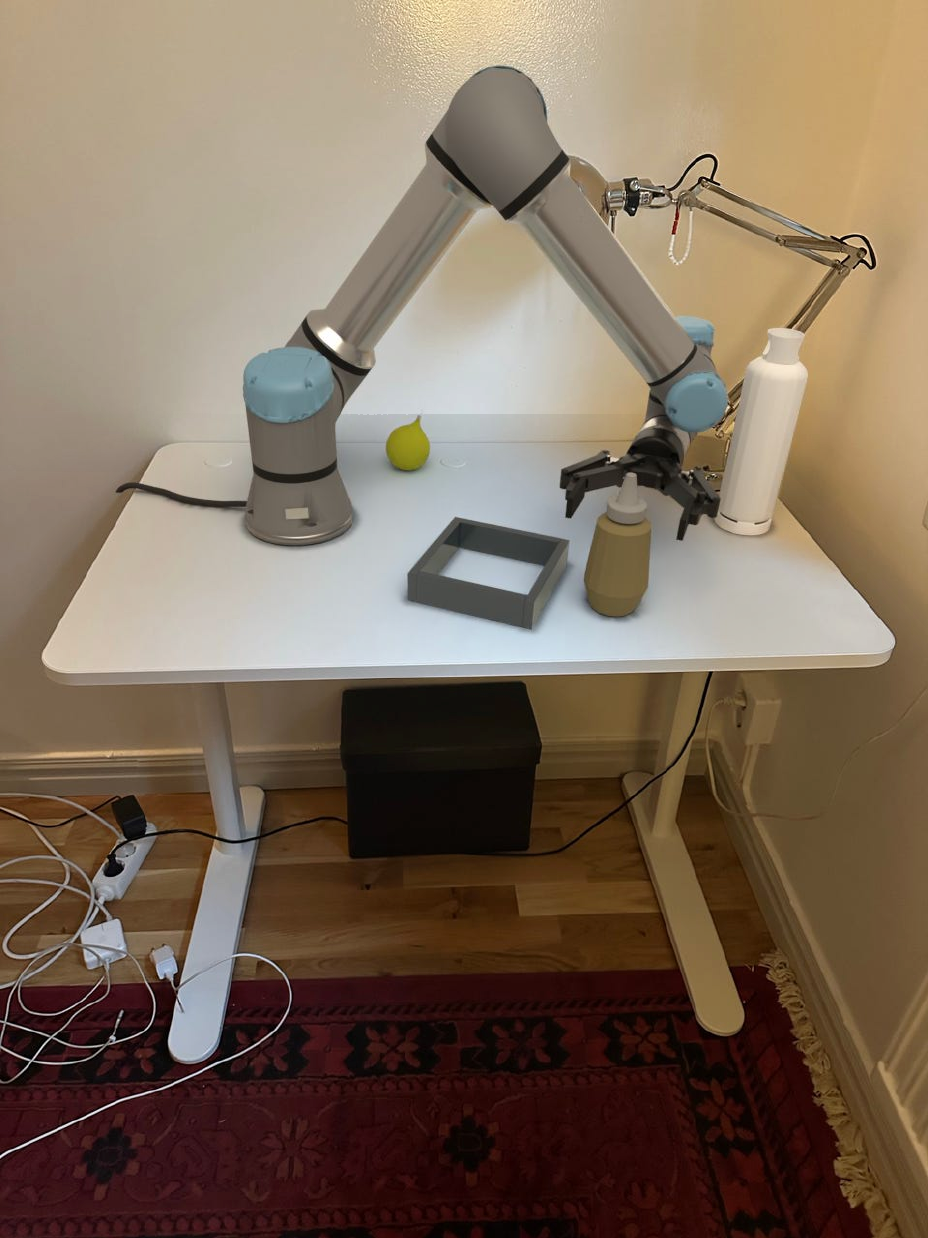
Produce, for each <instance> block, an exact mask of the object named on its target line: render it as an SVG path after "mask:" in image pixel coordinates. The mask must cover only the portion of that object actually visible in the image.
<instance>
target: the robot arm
mask: <svg viewBox="0 0 928 1238" xmlns="http://www.w3.org/2000/svg"><path fill="white" fill-rule="evenodd" d="M545 101H546V100H545V98H544V95H543V94H542V92H541V90H540V88H539V87H538V85H536V84H535V82H534V81H533V79H532V77H530V76H528V75H526V74H525V72H523V71H522V70H520V69H518V68H516V67H513V66H509V65H502V64H498V65H491V66H487V67H485V68H482V69H480V70H478V71H477V72H475V73H474V74H472V76H470V77H469V79H467V80H466V81H464V83H463V84H462V85H461V86H460V87H459V88H458V89H457V91H456V92H455V94H454V95H453V97H452V98H451V101H450V103H449V106H448V109H447V110H446V112H445V113H444V114H443V116H442V117H441V119H440V120H439V122H438V123H437V124H436V126H435V128H434V129H433V131H432V132H431V134H430V135H429V137H428V138H427V140H426V141H425V143H424V152H425V165H424V166H423V168H422V169H421V170H420V172H419V173H418V174H417V176H416V177H415V179H414V180H413V182H412V183H411V184H410V186H409V188H408V189H407V190H406V192H405V193H404V194H403V196H402V198H401V199H400V201H399V202H398V203H397V205H396V206H395V207H394V208H393V211H392V212H391V213H390V215H389V216H388V217H387V219H386V220H385V222H384V224H383V225H382V226H381V228H380V229H379V230H378V232H377V233H376V235H375V236H374V238H373V239H372V240H371V242H370V243H369V245H368V246H367V248H366V249H365V251H364V252H363V253H362V255H361V256H360V258H359V259H358V260H357V262H356V263H355V265H354V266H353V268H352V269H351V271H350V272H349V273H348V275H346V276H347V277H346V278H345V279H344V281H342V283H341V285H340V286H339V288H338V289H337V291H336V292H335V293H334V295H333V297H332V298H331V299H330V301H329V302H328V304H327V305H326V306H325V308H320V309H312V310H309V312H308V313H307V315H306V316H305V317H304V319H303V320H302V321H301V323H300V324H299V326H298V327H297V328H296V330H295V332H294V333H293V334H292V336H291V337H290V339H289V340H288V341H287V342H286V343H285V345H284V346H283V347H277V348H272V349H269V350H268V352H261V353H258V354H257V355H255V356H254V357H252V358H250V360H249V361H248V362H247V364H246V365H245V368H244V370H243V377H242V378H243V379H242V380H243V381H242V383H243V384H242V398H243V401H244V406H245V414H246V422H247V429H248V439H249V446H250V447H249V448H250V456H251V463H252V472H253V473H252V479H251V482H250V488H249V492H248V494H247V500H214V499H205V498H197V497H190V496H187V495H182V494H179V493H177V492H173V491H171V490H170V489H169V490H168V489H166V488H162V487H157V486H152V485H148V484H146V483H145V484H144V483H140V482H135V481H133V482H131V481H130V482H126V483H123V484H121V485H120V486H118V487H117V489H116V490H115V493H116V494H122V493H124V491H126V490H130V489H135V490H141V491H145V492H149V493H153V494H158V495H162V496H165V497H168V498H171V499H172V500H175V501H178V502H183V503H187V504H193V505H197V506H205V507H216V508H245V510H244V511H245V512H244V517H245V525H246V528H247V530H248V532H250V534H251V535H253V536H254V537H256V538H257V539H259V540H262V541H264V542H267V543H271V544H275V545H280V546H281V545H283V546H307V545H315V544H319V543H323V542H326V541H329V540H332V539H334V538H337V537H338V536H340V535H342V534H344V533H345V532H346V531H347V530H348V529H350V527H351V526H352V524H353V520H354V512H353V505H352V502H351V499H350V496H349V494H348V492H347V490H346V486H345V484H344V482H343V479H342V477H341V474H340V472H339V468H338V454H337V453H338V452H337V436H336V426H337V424H336V423H337V421H338V419H339V417H340V416H341V414H342V412H343V410H344V408H345V406H346V404H347V403H348V401H349V400H350V399H351V397H352V396H353V394H355V392H356V391H357V389H358V388H359V386H360V385H361V384H362V383H363V381H364V380H365V379H366V377H367V376H368V375H369V374H370V372H371V370H372V369H373V368H374V367H375V365H376V362H377V359H376V354H375V347H376V346H377V345H378V343H379V342H380V341H381V339H383V337H384V335H385V334H386V333H387V332H388V331H389V329H390V328H391V326H392V325H393V324H394V322H395V321H396V319H397V318H398V317H399V315H400V314H401V313H402V312H403V311H404V309H405V308H406V306H407V305H408V304H409V302H410V301H411V300H412V298H413V297H414V296H415V294H416V293H417V292H418V290H419V289H420V287H421V286H422V285H423V284H424V282H425V281H426V280H427V278H429V276H430V274H431V273H432V272H433V270H434V269H435V268H436V266H437V265H438V264H439V262H441V260H442V258H443V257H444V256H445V254H446V253H447V252H448V250H449V249H450V248H451V246H452V245H453V243H454V242H455V241H456V240H457V238H459V236H460V235H461V234H462V232H463V231H464V229H465V228H466V226H467V225H468V224H469V223H470V221H471V220H472V218H473V217H474V216H475V215H476V213H477V212H478V211H480V210H488V209H495V210H496V211H497V212H498V213H499V215H500V216H501V217H502V219H503V220H504V221H505V222H506V223H508V224H509V223H511V224H518V225H520V227H521V228H522V229H523V230H524V232H526V234H527V235H528V236H529V237H530V239H531V241H533V243H534V244H535V245H536V246H537V247H538V249H539V250H540V251H541V253H542V254H543V255H544V256H545V257H546V259H547V260H548V261H549V263H550V264H551V265H552V266H553V267H554V269H555V270H556V272H557V273H558V274H559V275H560V276H561V278H562V279H563V280H564V282H565V283H566V284H567V285H568V287H570V289H571V290H572V291H573V293H574V294H575V295H576V297H577V298H578V299H579V300H580V301H581V303H582V304H583V305H584V307H585V308H586V309H587V310H588V311H589V312H590V314H591V315H592V317H593V318H594V319H595V320H596V322H597V323H598V324H599V325H600V327H602V329H603V331H605V333H606V334H607V335H608V336H609V338H610V339H611V340H612V342H614V344H615V345H616V346H617V348H618V349H619V351H620V352H621V353H622V354H623V355H624V356H625V358H626V359H627V360H628V361H629V363H631V365H632V366H633V368H634V369H635V370H636V371H637V372H638V374H639V375H640V377H641V378H642V379H643V380H644V381H645V383H646V384H647V386H648V387H649V393H648V399H647V406H646V412H645V418H644V420H643V421H644V422H643V424H642V425H641V427H640V429H639V431H638V432H637V434H636V435H635V436H634V439H633V441H632V442H631V444H630V446H629V447H628V449H627V451H626V453H625V455H622V456H620V457H619V458H618V457H613V456H611V455H610V454H611V451H609V450H608V449H602V450H600V452H598V454H596V455H593V456H591V457H588V458H586V459H584V460H581V461H578V462H576V463H574V464H571V465H569V466H565V467H563V468H561V470H560V477H559V489H561V490H565V495H564V499H565V501H566V504H565V516H564V518H565V519H572V518H573V516H574V515H575V513H576V512H577V510H578V508H579V507H580V505H581V503H582V502H583V500H584V498H585V495H586V493H589V492H594V491H597V490H601V489H607V488H610V487H614V486H615V487H617V488H620V489H621V487H622V484H623V482H624V479H625V476H626V474H627V473H635V474H636V475H637V487H643V488H647V489H653V490H657V491H658V492H659V493H660V494H662V495H663V496H664V497H670V498H671V499H672V500H673V501H674V502H675V503H677V504H678V505H679V506H680V507H682V508H683V510H682V513H681V516H680V518H679V522H678V526H677V527H678V528H677V533H676V538H675V540H676V541H681V542H683V541H684V538H685V535H686V534H687V530H688V527H689V525H691V526H697V525H698V524H699V523H700V520H701V517H702V516H703V515H706V516H707V517H709V518H711V519H714V518H716V517H717V514H718V510H719V505H720V500H721V498H720V497H719V493H718V492H717V491H716V490H715V489H714V487H713V486H712V484H711V483H710V481H708V478H706V476H704V468H703V467H702V466H697V465H696V466H693V469H690V470H685V469H684V470H683V468H682V467H683V464H684V462H685V460H686V458H687V455H688V454H689V450H690V448H691V446H692V444H693V442H694V440H695V437H696V436H697V435H698V434H699V433H703V432H707V431H709V430H710V429H712V428H714V427H715V426H716V425H717V424H718V423H720V422H721V421H722V419H723V417H724V416H725V415H726V412H727V409H728V402H729V399H728V391H727V388H726V387H727V386H726V383H725V382H724V380H723V379H722V378H721V377H720V374H719V372H718V370H717V368H716V365H715V363H714V361H713V358H712V351H713V350H712V349H713V347H714V345H715V343H714V336H715V335H714V334H715V326H714V324H713V323H712V322H711V321H709V320H707V319H704V318H701V317H697V316H691V315H676V316H675V315H674V313H673V312H672V310H671V309H670V308H669V307H668V305H667V304H666V303H665V301H664V300H663V299H662V297H661V296H660V295H659V293H658V292H657V290H656V289H655V288H654V286H653V285H652V283H650V280H648V278H647V277H646V276H645V274H644V272H642V270H641V269H640V268H639V266H638V265H637V264H636V262H635V261H634V260H633V258H632V256H631V255H630V254H629V253H628V251H627V250H626V248H625V247H624V246H623V245H622V244H621V241H619V239H618V238H617V236H616V235H615V234H614V233H613V231H612V230H611V229H610V227H609V226H608V224H606V222H605V221H604V220H603V217H602V216H601V215H600V214H599V213H598V211H597V210H596V208H595V207H594V206H593V205H592V204H591V202H590V201H589V199H588V198H587V196H586V195H585V194H584V192H583V191H582V189H580V187H579V185H577V183H576V182H575V181H574V179H573V178H572V177H571V167H572V166H571V165H572V160H571V159H570V158H569V156H568V155H567V154H566V152H565V151H564V150H563V148H562V147H561V145H560V144H559V142H558V141H557V138H556V137H555V136H554V133H553V132H552V130H551V127H550V125H549V123H548V110H547V105H546V102H545Z"/></svg>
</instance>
